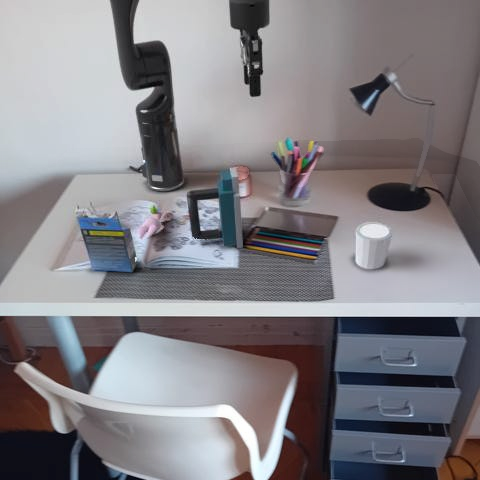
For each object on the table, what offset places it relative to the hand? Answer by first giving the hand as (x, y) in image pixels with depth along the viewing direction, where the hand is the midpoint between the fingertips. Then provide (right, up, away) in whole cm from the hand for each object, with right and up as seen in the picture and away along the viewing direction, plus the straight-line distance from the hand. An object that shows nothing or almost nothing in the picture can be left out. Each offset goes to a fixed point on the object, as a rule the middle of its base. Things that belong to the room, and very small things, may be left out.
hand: (252, 90), depth 103 cm
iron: (-3, -24, 0) cm, 24 cm away
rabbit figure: (-22, -28, +10) cm, 37 cm away
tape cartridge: (-28, -37, 0) cm, 46 cm away
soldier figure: (-36, -25, +15) cm, 46 cm away
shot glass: (+23, -36, -4) cm, 43 cm away
